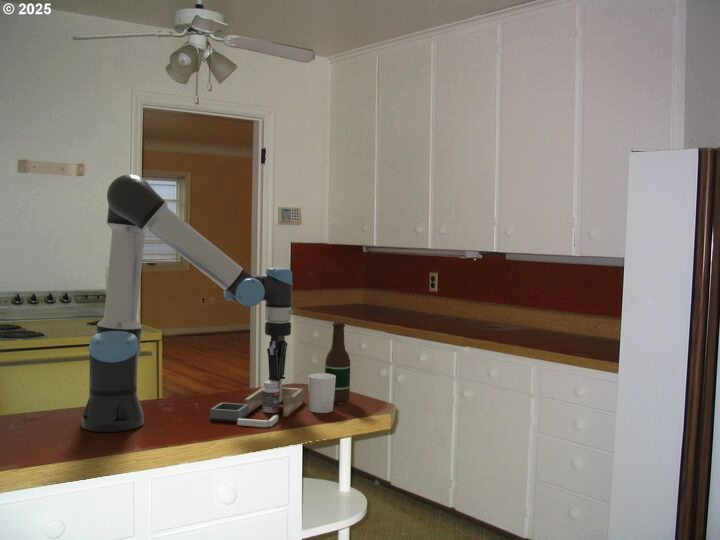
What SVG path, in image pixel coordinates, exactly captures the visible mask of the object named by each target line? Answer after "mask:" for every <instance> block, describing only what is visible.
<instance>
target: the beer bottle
mask: <svg viewBox="0 0 720 540" xmlns="http://www.w3.org/2000/svg"><path fill="white" fill-rule="evenodd" d="M332 327H333V328H332V329H333V331H332V338H331V339H332V342H331V349H329V351H328V352H327V353H326V357H325V361H324V362H325V363H324V373H327V374H333V375H335V376H336V381H335V394H334V402H333V405H340V404H339V403H345V404H347V403H346V402H348V401H349V402H350V395H351V394H350V389H351V388H350V387H351V359H350V355H349V354H348V352H347V350H346V345H345V327H346V324H345V323H344V322H343V321H335V322H334V321H333V323H332ZM349 402H348V403H349Z"/></svg>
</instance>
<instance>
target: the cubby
mask: <svg viewBox="0 0 720 540" xmlns="http://www.w3.org/2000/svg"><path fill="white" fill-rule="evenodd" d="M264 388H265V387H264V386H263V387H261V388H259V389H258V390H256V391H255V392H253V393H252V394H250V395H249V396H247V397H246V398H244V404H249V414H250V413H251V412H253V411H255V409H257V408H258V407H260V406H262V401H263V389H264ZM304 396H305V388H298V387H297V388H296V387H283V386H282V401H281V402H282V403H283V407H282V408H283V411H282V417H289V416H290V415H291V414H292V413H293V412H294V411H296V410H297V409H298V408H299V407H300V406H301V405H302V404H303V403H304V401H305V399H304V398H305V397H304Z"/></svg>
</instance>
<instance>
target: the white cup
mask: <svg viewBox="0 0 720 540" xmlns="http://www.w3.org/2000/svg"><path fill="white" fill-rule="evenodd" d="M307 378H308V379H307V380H308V381H307V382H308V383H307V385H308V401H309V411H310V412H311V413H315V414H316V413H317V414H328V413H331V412H333V411H334V404H333V402H334V394H335V381H336V376H335V375H333V374H327V373H325V372H323V373H322V372H320V373H319V372H316V373H311V374H309V375H307Z"/></svg>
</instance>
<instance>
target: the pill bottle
mask: <svg viewBox="0 0 720 540" xmlns="http://www.w3.org/2000/svg"><path fill="white" fill-rule="evenodd" d="M263 387H265V388H264V389H263V401H262V404H261V407H262V409H261V410H262V412H263V413H268V414H275V413H278V412H279V411H280V403H279V388H277V387H278V381H272V380H265V381H263Z"/></svg>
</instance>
